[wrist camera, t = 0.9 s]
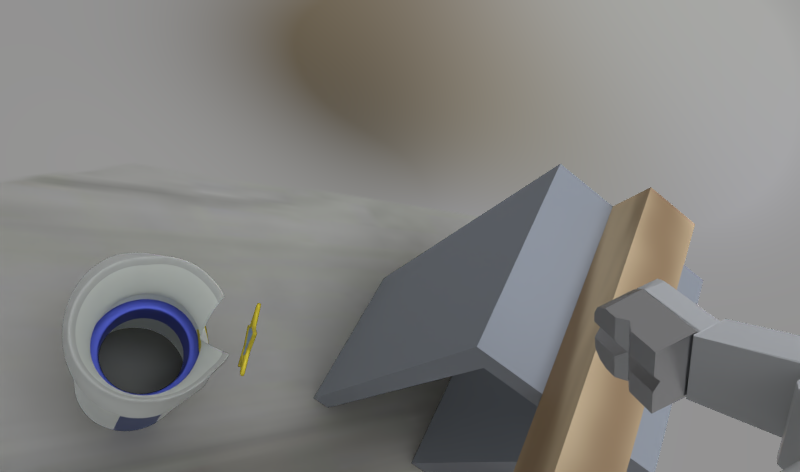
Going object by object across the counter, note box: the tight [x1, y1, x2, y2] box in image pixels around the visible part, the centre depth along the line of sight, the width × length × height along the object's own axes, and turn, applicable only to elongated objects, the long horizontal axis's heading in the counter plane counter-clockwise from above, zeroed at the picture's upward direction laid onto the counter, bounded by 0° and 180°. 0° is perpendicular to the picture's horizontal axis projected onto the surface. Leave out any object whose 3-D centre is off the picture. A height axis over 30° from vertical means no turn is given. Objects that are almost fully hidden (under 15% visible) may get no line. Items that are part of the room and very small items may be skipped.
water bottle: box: [62, 253, 261, 431], centre depth 36 cm, size 8×9×25 cm
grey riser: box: [314, 164, 703, 472], centre depth 45 cm, size 12×13×26 cm
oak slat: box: [513, 188, 695, 472], centre depth 31 cm, size 4×22×3 cm, turn 150°
